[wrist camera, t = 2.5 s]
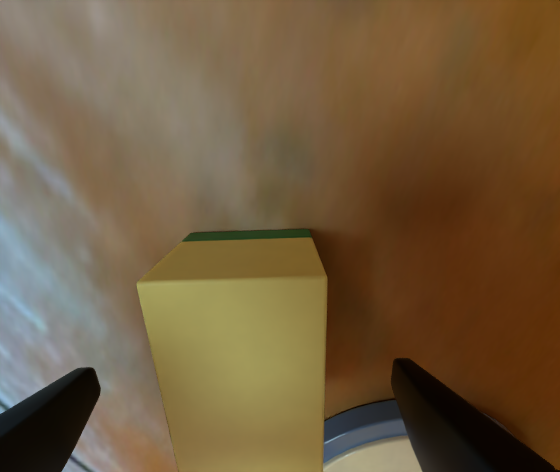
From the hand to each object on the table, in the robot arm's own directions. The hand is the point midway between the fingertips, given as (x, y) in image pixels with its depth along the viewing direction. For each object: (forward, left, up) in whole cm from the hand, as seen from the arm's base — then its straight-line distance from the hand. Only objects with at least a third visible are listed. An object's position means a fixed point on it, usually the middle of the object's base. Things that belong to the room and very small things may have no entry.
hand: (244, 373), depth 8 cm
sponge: (0, 0, -3) cm, 3 cm away
